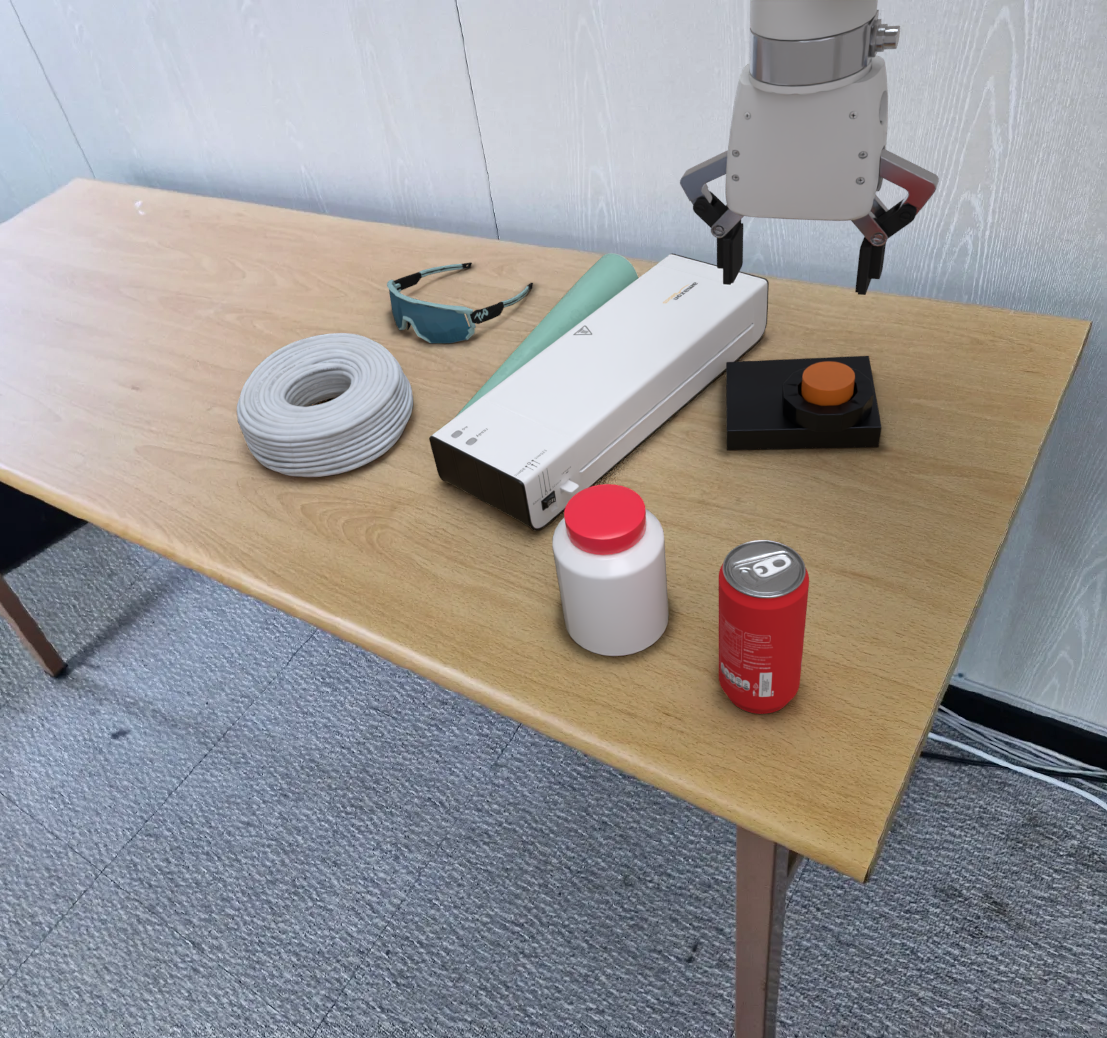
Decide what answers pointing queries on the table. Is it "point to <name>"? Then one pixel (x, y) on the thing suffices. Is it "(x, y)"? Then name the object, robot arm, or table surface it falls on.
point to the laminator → (601, 389)
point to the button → (828, 383)
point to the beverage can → (761, 625)
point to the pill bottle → (611, 571)
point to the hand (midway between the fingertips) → (796, 280)
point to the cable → (324, 405)
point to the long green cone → (567, 314)
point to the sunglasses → (440, 310)
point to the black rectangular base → (797, 407)
